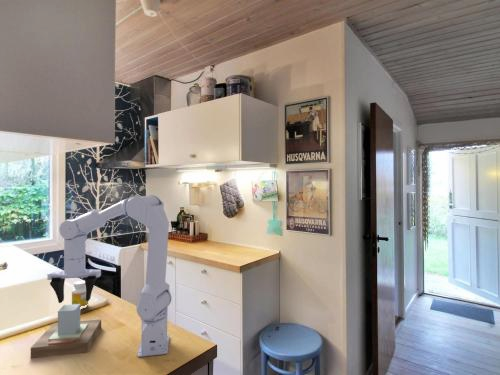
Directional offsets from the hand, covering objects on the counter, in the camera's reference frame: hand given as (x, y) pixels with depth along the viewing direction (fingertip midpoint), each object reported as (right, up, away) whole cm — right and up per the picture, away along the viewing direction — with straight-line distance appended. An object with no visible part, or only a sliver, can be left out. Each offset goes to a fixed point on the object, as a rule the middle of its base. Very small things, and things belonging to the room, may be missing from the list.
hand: (74, 300), depth 92 cm
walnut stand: (+1, -11, -4) cm, 11 cm away
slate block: (+1, -7, -4) cm, 9 cm away
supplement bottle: (-9, -10, +19) cm, 24 cm away
